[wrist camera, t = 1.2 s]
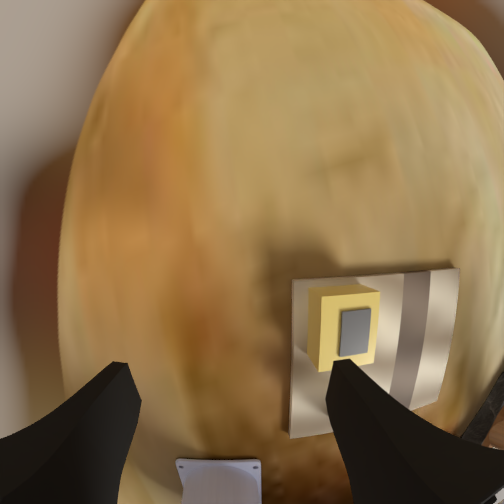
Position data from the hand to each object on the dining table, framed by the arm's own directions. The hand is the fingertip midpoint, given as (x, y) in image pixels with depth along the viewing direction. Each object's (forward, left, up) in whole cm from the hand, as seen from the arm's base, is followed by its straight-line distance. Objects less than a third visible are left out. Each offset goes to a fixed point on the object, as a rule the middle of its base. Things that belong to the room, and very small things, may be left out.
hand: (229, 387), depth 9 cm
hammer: (-21, -34, -11) cm, 41 cm away
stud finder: (-1, -7, -10) cm, 12 cm away
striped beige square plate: (-5, -12, -11) cm, 17 cm away
